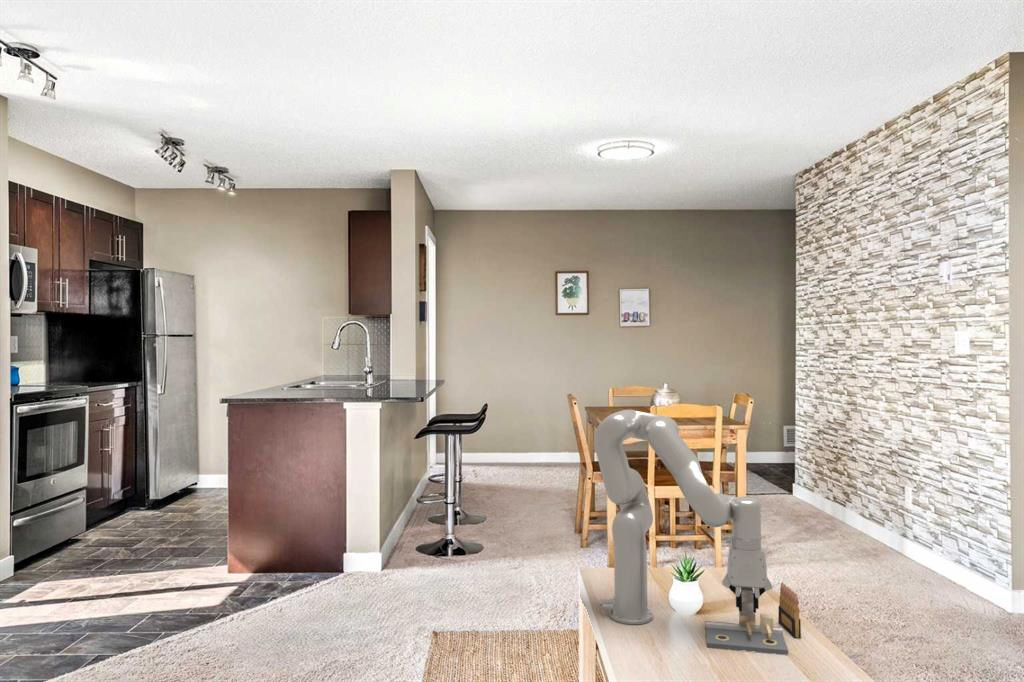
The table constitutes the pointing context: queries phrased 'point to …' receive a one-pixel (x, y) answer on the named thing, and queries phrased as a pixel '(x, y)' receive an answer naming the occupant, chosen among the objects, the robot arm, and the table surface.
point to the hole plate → (737, 637)
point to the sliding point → (747, 610)
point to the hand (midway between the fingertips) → (747, 609)
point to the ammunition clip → (789, 611)
